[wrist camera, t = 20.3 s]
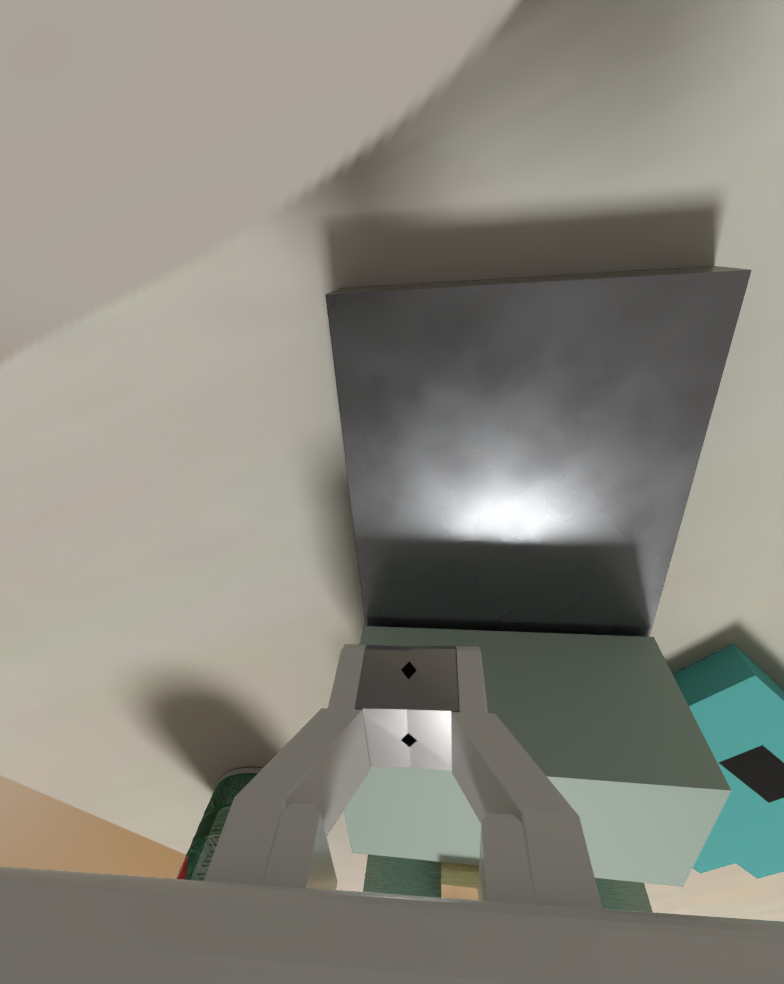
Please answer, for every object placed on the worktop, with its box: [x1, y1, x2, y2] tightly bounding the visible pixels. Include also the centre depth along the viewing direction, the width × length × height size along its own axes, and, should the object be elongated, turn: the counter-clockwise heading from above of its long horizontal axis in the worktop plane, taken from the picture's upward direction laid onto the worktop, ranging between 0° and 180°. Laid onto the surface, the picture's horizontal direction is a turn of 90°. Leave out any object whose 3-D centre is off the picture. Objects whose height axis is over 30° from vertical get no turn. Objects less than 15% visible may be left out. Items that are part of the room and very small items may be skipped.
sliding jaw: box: [344, 626, 731, 887], centre depth 18 cm, size 12×6×6 cm, turn 94°
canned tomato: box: [177, 767, 263, 881], centre depth 28 cm, size 8×8×11 cm
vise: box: [326, 266, 751, 913], centre depth 19 cm, size 12×30×8 cm, turn 4°
